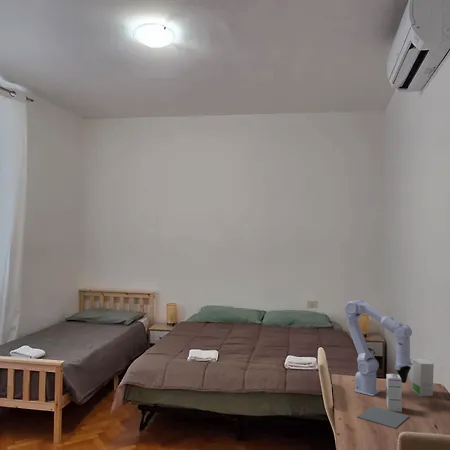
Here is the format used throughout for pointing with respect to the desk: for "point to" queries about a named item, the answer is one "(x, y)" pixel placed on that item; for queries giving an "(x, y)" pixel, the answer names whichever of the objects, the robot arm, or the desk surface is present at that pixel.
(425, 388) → the skincare box
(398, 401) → the syrup box
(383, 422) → the mat
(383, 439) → the desk surface
